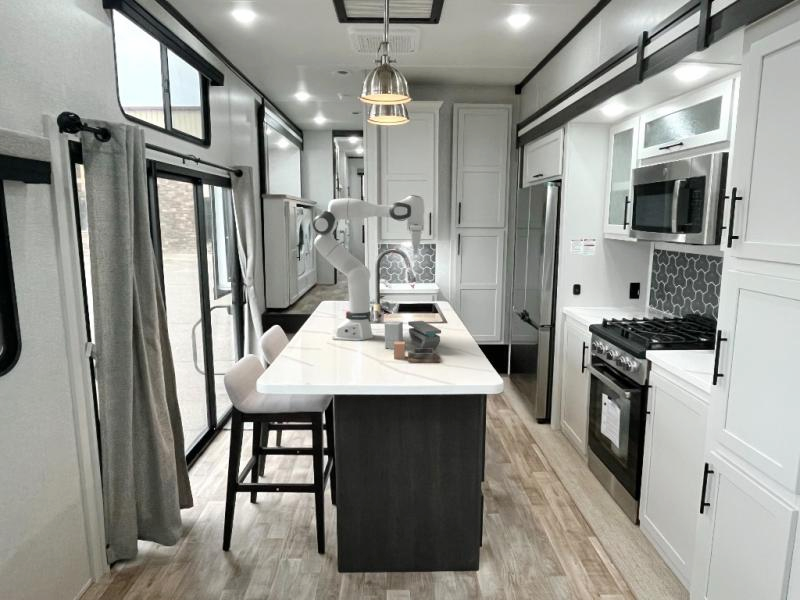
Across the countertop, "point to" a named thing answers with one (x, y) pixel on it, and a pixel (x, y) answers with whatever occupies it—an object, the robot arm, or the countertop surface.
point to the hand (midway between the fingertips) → (415, 253)
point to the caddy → (423, 355)
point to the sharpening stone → (424, 334)
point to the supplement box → (393, 333)
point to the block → (399, 350)
